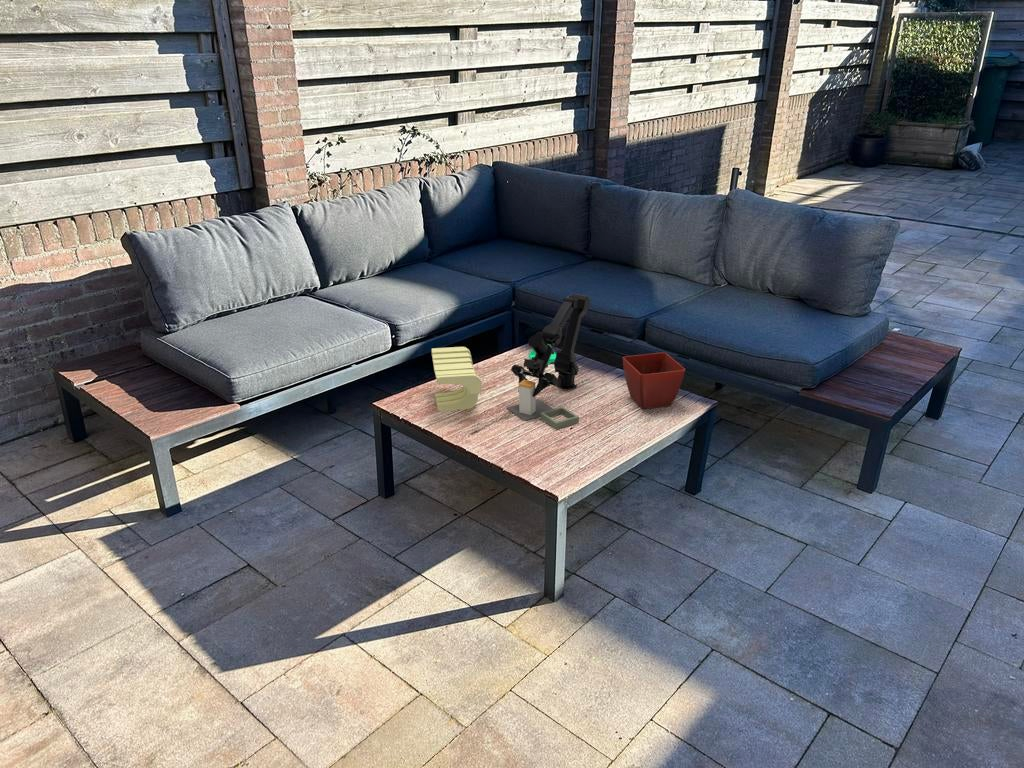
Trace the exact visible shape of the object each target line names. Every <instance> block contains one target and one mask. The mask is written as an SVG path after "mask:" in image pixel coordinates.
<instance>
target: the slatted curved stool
mask: <svg viewBox="0 0 1024 768" xmlns="http://www.w3.org/2000/svg"><path fill="white" fill-rule="evenodd" d="M431 357H432V364H433V371H434V375H435V379H436V383H437V384H438V385H458V386H462V387H461V388H459V389H457V390H455V391H454V390H453V391H448V392H441V393H440V392H439V393H434V400H435V403H436V404H435V405H436V409H437V411H439V412H441V411H443V412H444V411H455V410H468V409H472V408H475V406H476V405H477V403H478V400H479V394H482V380H481V378H480V377H479V375H477V374H476V370H475V368H474V363H473V358H472V354H471V351H470V349H469V348H467V347H466V346H453V347H435V348H431Z"/></svg>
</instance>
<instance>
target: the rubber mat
mask: <svg viewBox="0 0 1024 768" xmlns="http://www.w3.org/2000/svg"><path fill="white" fill-rule="evenodd" d="M552 409H554V408H553V407H552V406H550V405H548V404H547V403H545V402H544V401H542V400H540V398H537V399H536V411H535V412H534V413H533V414H532V415H527V414H524V413H520V412H519V403H518V404H515V405H514V404H513V405H511V406H507V407H506V410H507V411H510V413H512V414H514V415H515V416H516V417H518V418H519V419H521V420H522V421H524V422H528V421H531V420H534V419H538V418H540V413H541V412H545V411H549V410H552Z"/></svg>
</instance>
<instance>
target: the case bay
mask: <svg viewBox="0 0 1024 768" xmlns="http://www.w3.org/2000/svg"><path fill="white" fill-rule="evenodd" d="M559 415H562V416H564V417H566V418H565V419H562V420H558V421H557V420H555V419H553V418H552V417H555V416H559ZM539 419H540V420H541V421H543V422H545V424H547V425H549V426H550V427H552V428H553V429H555V430H558V429H559V430H560V429H562V427H563V428H565V427H569V426H572V424H573V425H576V424H578V423H579V422H580V416H579V415H577V414H576V413H574V412H572V411H570V410H568V409H567V408H566V407H564V406H560V407H556V408H553V409H552V410H549V411H545V412H541V413H540V417H539Z"/></svg>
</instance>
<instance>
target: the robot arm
mask: <svg viewBox="0 0 1024 768" xmlns="http://www.w3.org/2000/svg"><path fill="white" fill-rule="evenodd" d="M591 301H592V300H591V299H590V297H589V296H588V295H584V294H578V293H573V294H572V295H567V296H566V297H564V298H563V300H562V304H561V306H560V308H559V310H558V311H557V313H556V314H555V316H554V317H553V320H552V322H551V323H550V324H547V325H546V326H545V327H544V329H543V330H542V331H541V332H539V331H536V334H533V335H531V336H530V337H529V338H528V342H527V343H528V345H529V347H530V349H531V350H532V349H533V351H534V352H535V353H536V354H535V357H532V359H531V360H530V358H524V361H523V365H519V364H513V365H512V366H511V368H510V371H511V372H512V373H513V375H515V376H516V377H518V384H519V383H520V382H521V381H523V380H528V379H527V377H526V376H528V377H531V378H535V379H538V380H537V381H538V382H537V385H536V386H535V391H534V393H533V397H535V396H536V397H537V396H538V395H539V394H540V393H541V392H542V391H543V390H545V389H546V388H548V387H550V386H554V387H559V389H560V388H561V389H562V390H564V391H566V390H570V389H573V388H577V384H575V380H576V379H575V377H576V376H577V375H578V374H579V372H580V371H579V370H580V367H579V366H578V364H577V363H576V361H577V357H576V354H575V348H576V343H577V340H578V335H579V332H580V327H581V323H582V319H583V317H584V316H585V315H586V314H587V312H588V311H589V309H590V306H591ZM567 322H568V324H567V328H566V332H565V336H564V341H563V343H562V344H563V345H562V348H561V349H560V351H557V352H556V358H555V361H554V362H553V367H554V371H555V373H558V374H557V376H556V375H555V374H554V373H552V372H551V373H550V372H545V371H546V369H548V367H549V364H548V361H549V359H550V356H551V354H554V352H555V350H554V347H552V346H555V347H556V346H558V345H559V344H560V343H561V341H562V338H563V329H564V328H565V325H566V323H567ZM548 344H549V345H550V346H551V347H550V346H549V345H548ZM553 350H554V351H553ZM524 367H525V368H524ZM517 391H518V393H519V388H518V390H517Z"/></svg>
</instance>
